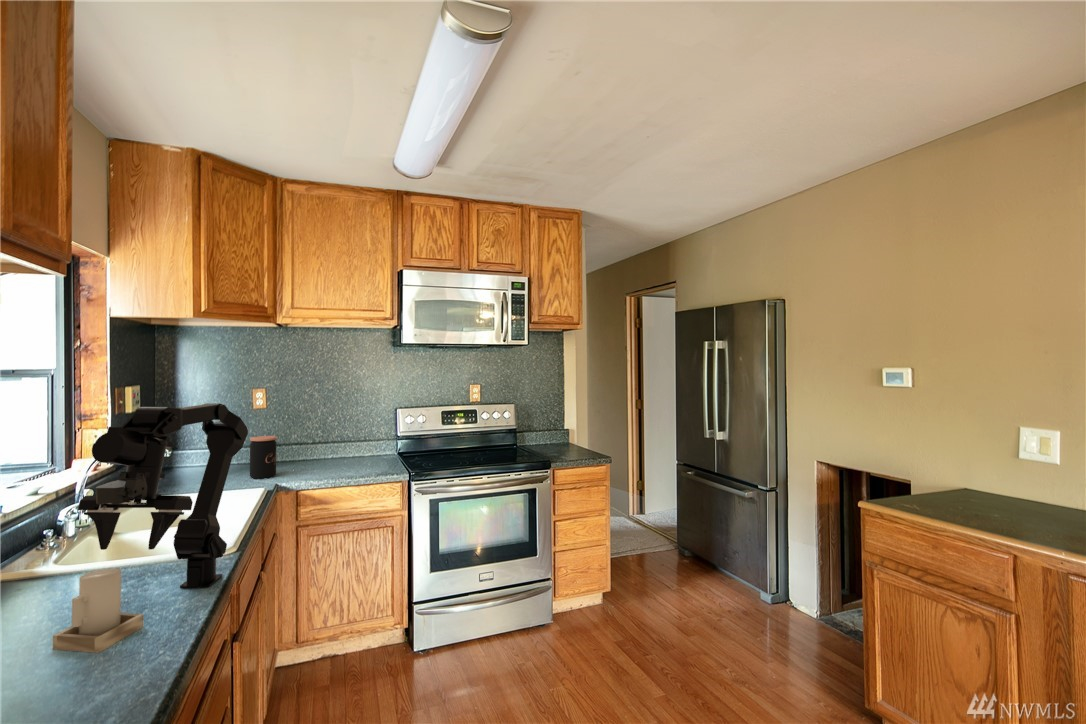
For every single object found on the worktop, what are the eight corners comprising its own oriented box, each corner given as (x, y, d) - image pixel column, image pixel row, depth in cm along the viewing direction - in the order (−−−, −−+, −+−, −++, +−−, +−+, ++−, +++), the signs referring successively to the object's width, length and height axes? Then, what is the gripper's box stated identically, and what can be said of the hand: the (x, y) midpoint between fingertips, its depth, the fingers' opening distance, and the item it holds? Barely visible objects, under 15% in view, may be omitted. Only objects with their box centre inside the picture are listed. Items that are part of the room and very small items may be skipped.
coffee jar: (268, 479, 231) (268, 439, 231) (244, 479, 231) (244, 439, 231) (280, 474, 242) (281, 436, 242) (258, 474, 242) (258, 435, 242)
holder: (101, 624, 103) (101, 611, 103) (143, 627, 102) (143, 614, 102) (52, 649, 94) (52, 635, 94) (98, 652, 93) (98, 638, 93)
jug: (100, 628, 101) (101, 567, 101) (128, 630, 101) (129, 568, 101) (59, 650, 94) (60, 584, 94) (89, 653, 93) (90, 586, 93)
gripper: (63, 464, 97) (40, 552, 93) (163, 463, 97) (145, 552, 93) (110, 469, 108) (92, 548, 104) (200, 469, 108) (185, 548, 104)
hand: (127, 549), depth 101 cm, fingers open, 9 cm apart
